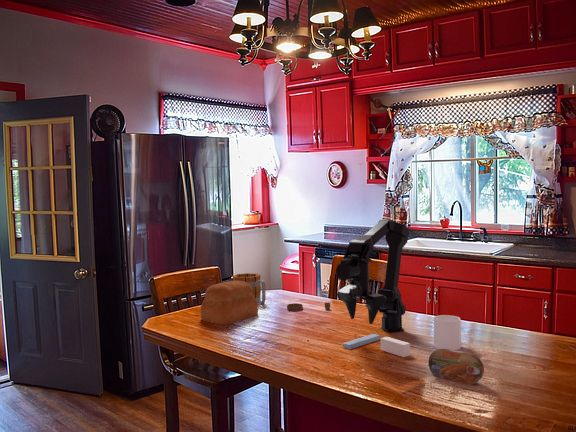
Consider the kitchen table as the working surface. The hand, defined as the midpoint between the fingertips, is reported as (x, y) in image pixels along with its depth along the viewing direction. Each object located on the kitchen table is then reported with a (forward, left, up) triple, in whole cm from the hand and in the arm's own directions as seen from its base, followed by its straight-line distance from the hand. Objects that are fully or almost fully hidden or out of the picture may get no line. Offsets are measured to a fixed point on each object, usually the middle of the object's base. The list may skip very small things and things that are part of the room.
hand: (361, 321), depth 177 cm
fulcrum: (-6, +13, -9) cm, 17 cm away
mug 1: (+24, -76, -9) cm, 80 cm away
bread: (+38, -52, -9) cm, 65 cm away
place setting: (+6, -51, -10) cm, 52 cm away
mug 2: (-26, +12, -9) cm, 31 cm away
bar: (0, 0, -9) cm, 9 cm away
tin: (-12, +38, -9) cm, 41 cm away
